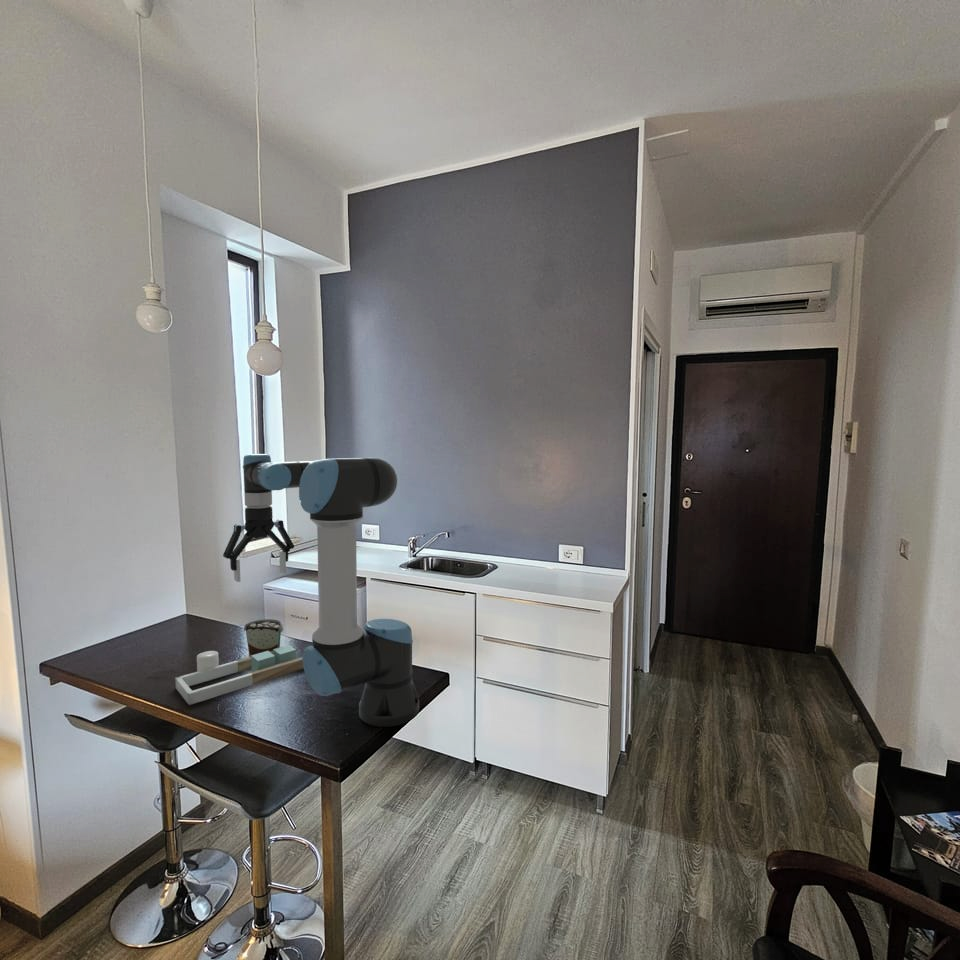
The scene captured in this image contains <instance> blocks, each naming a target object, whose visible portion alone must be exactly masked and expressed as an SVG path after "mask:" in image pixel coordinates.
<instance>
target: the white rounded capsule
mask: <svg viewBox="0 0 960 960" xmlns="http://www.w3.org/2000/svg"><path fill="white" fill-rule="evenodd" d="M219 665H220V662H219V652H218V651H216V650H208V651H204V652H200V653H199V654H197V655H196V672H198V671H201V670H205V669H208V668H212V667H216V666H219Z"/></svg>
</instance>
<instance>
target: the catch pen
mask: <svg viewBox="0 0 960 960" xmlns="http://www.w3.org/2000/svg"><path fill="white" fill-rule="evenodd" d="M234 673H239V672H238V662H237V660H234V661H230V662H227V663H223V664H219V666H216V667H212V668H208V669H205V670H201V671H198V672H197V671H195V672H191V673H188V674H187V673H186V674H184V675H179V676H178V677H177V676H176V677H174V678H175V679H174V680H175V681H174V682H175V689H176V690H177V692H178V693H179V694H180V696H181V697H182V699H184V701H185V702H186V703H187V704H188V705H189V706H191V705H194V704H197V703H200V702H203V701H207V700H210V699H213V698H216V697H219V696H223V695H225V694H229V693H231V692H236V691H238V690H241V689H244V688H247V687H251V686H254V685H253V677H252V674H251V673H250V672H249V673H246V674H243V675H241V676H237V677H234V678H230V679H227V680H223V681H220V682H216V683H213V684H211V685H207V686H204V687H201V688H197V689H194V690H192V688H190V687H191V686H194V685H198V684H202V683H205V682H208V681H212V680H216V679H218V678H222V677H224V676H225V677H226V676H228V675H233V674H234Z"/></svg>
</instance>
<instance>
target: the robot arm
mask: <svg viewBox="0 0 960 960" xmlns="http://www.w3.org/2000/svg"><path fill="white" fill-rule="evenodd" d="M242 462H243V464H242V465H243V466H242V469H243V471H242V472H243V487H244V488H243V489H244V493H243V494H244V506H245V508H244V517H245V518H244V520H245V522H244V524H237V523H236V524H234V525H233V532H232V534H231V537H230V539H229V541H228V543H227V545H226V547H225V550H224V551H223V554H222V556H223V558H225V559H227V560H228V559H229V560H230V561H229V562H230V563H229V565H230V570H231V571H233V576H234V577H233V579H234V581H236V582H237V583H238V582H239V583H241V560H240V558H238V557H239V556H240V554H242V552H243V551H244V549H245V548H246V547H247V545H249V543H250V541H252V539H259V538H267V537H269V538H270V539H271V540H272V541H273V542H274V543H275V544H276V546H278V547H279V548H280V549H281V550H279V552H278V554H279V555H278V556H279V557H278V558H279V573H282V574H286V573H287V562H289V552H290V550H291V549H292V550H293V549H294V548H295V544H294V543H293V541H292V539H291V537H290V535H289V534H288V532H287V530H286V528H285V525H284V521H283V520H281V519H276V520H273V518H274V517H273V507H272V506H271V505H273V491H282V490H284V489H293V488H294V489H295V488H296V489H297V488H298V497H299V501H300V506H301V508H302V509H303V511H304V512H305V513H308V514H309V519H310V521H312V522H313V523H314V524H315V526H316V527H317V528H316V530H317V532H316V534H317V579H318V581H317V584H318V586H317V589H318V591H317V592H318V628H317V629H316V630H315V631H314V632H313V633H312V636H311V637H312V639H311V641H312V643H311V644H312V645H308V646H307V647H305V648H304V649H303V652H302V656H301V657H302V661H303V667H304V669H303V671H304V674H305V677H306V679H307V681H308V683H309V686H310V687H311V688H312V690H313V692H316V694H318V695H319V696H321V697H327V696H331V695H334V694H340V693H341V692H343V691H346V690H349V689H351V688H354V687H357V686H360V685H363V684H365V685H364V688H363V690H362V691H363V692H362V693H361V698H360V701H359V703H358V716H359V718H360V719H361V721H362V722H364V723H365V724H367V725H370V726H374V727H378V728H381V727H382V728H388V727H389V728H390V727H397V726H401V725H403V724H406V723H408V722H410V721H412V720H414V719H415V718H416V717H417V715H418V714H419V712H420V698H419V696H418V692H417V690H416V687H415V684H414V682H413V644H414V643H413V642H414V641H413V640H414V639H413V634H412V629H411V626H410V625H409V624H408V623H407V622H404V621H401V620H398V619H392V618H376V619H375V618H374V619H371V620H368V621H367V622H366V623H365V624H364V627H363V628H362V627H361V626H360V625H359V624H358V594H357V593H358V592H357V591H358V588H357V585H358V584H357V583H358V582H357V579H358V578H357V577H358V576H357V575H358V573H357V572H358V571H357V570H358V569H357V524H359V522H360V521H361V520H362V519H363V517H364V515H363V514H364V513H363V512H364V510H363V509H364V508H370V507H376V506H379V505H381V504H384V503H385V502H388V500H389V499H390V498H391V497H392V496H393V495H394V493H395V492H396V489H397V485H398V477H397V473H396V470H395V468H394V467H393V466H392V464H390V463H389V462H387V461H386V460H383V459H381V458H377V457H351V458H350V457H349V458H348V457H347V458H333V457H330V458H324V459H316V460H305V461H280V462H279V461H278V462H272V458H271V455H270V454H267V453H253V454H252V453H250V454H245V455H244V456H243V461H242ZM274 527H275V528H276V529H277V530H278V532H279V534H280V536H281V539H283V541H284V542H283V541H282V540H281V539H280V538H279V537H278V536H277V535H276V533H274V531H273V528H274ZM243 531H245V534H244V535H243V537H242V539H241V540H240V541H239V538H240V537H241V533H243ZM238 541H239V543H238ZM408 720H409V721H408Z"/></svg>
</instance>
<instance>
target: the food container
mask: <svg viewBox="0 0 960 960" xmlns="http://www.w3.org/2000/svg"><path fill="white" fill-rule="evenodd" d="M243 631H244V632H245V636H246V642H247V643H246V645H247V651H248V657H251V655H255V654H258V653H262V652H266V651H273V649H276V648H280V647H281V634H282V633H283V632H284V627H283V623H282V622H281V621H280V620H278V619H273V618H269V619H268V618H265V619H264V618H263V619H258V620H253V621H249V622H248V623H246V624H245V625H244V626H243Z"/></svg>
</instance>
